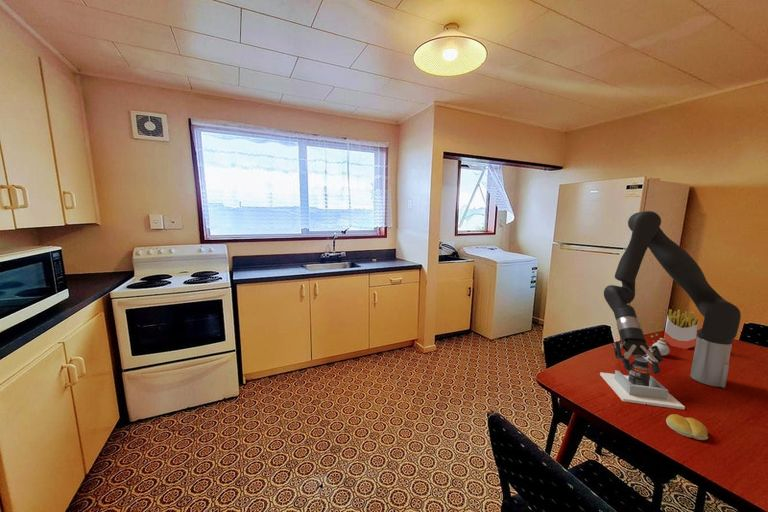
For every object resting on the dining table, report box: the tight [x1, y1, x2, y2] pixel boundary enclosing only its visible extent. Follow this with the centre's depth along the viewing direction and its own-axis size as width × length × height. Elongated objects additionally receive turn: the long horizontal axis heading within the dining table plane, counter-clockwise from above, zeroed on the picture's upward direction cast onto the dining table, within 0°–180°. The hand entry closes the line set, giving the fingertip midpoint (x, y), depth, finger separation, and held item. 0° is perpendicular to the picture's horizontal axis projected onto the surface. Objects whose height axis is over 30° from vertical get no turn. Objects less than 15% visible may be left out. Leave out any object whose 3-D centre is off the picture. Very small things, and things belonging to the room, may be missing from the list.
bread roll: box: [665, 413, 709, 441], centre depth 91 cm, size 8×9×4 cm
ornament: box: [650, 333, 670, 357], centre depth 139 cm, size 6×7×10 cm
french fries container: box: [663, 309, 699, 350], centre depth 147 cm, size 5×11×18 cm, turn 47°
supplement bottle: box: [628, 356, 652, 386], centre depth 111 cm, size 6×6×11 cm
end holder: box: [599, 369, 686, 411], centre depth 111 cm, size 18×18×4 cm
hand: (643, 372), depth 109 cm, fingers open, 8 cm apart
